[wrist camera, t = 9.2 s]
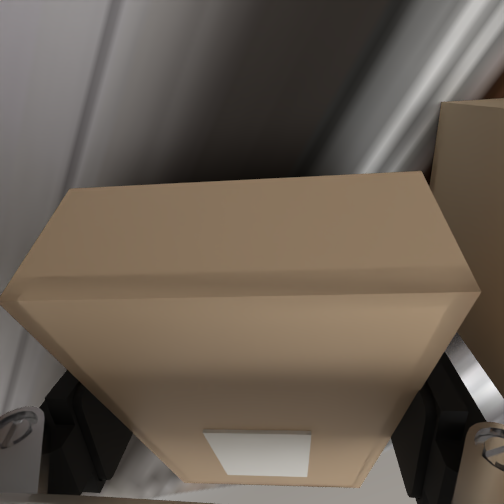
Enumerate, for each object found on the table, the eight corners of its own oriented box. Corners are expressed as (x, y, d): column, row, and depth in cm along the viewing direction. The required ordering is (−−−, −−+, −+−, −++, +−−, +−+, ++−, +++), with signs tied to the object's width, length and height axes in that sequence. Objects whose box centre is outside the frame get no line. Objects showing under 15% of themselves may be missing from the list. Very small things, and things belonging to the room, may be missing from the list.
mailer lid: (69, 188, 8) (-7, 306, 6) (421, 171, 7) (483, 297, 5) (194, 411, 17) (184, 485, 15) (349, 412, 17) (359, 490, 15)
